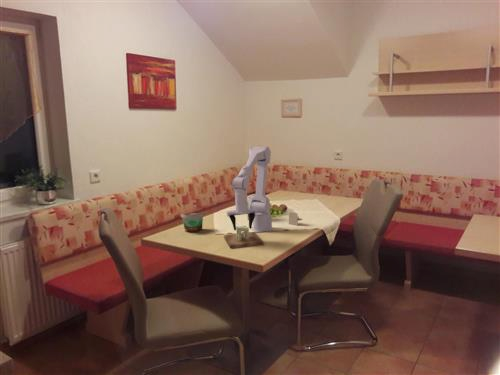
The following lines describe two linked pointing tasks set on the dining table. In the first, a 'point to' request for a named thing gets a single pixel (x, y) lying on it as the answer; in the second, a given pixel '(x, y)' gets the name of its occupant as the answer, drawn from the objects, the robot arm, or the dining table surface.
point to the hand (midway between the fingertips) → (242, 228)
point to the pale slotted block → (240, 229)
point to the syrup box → (250, 200)
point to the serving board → (243, 240)
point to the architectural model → (293, 218)
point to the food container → (193, 222)
